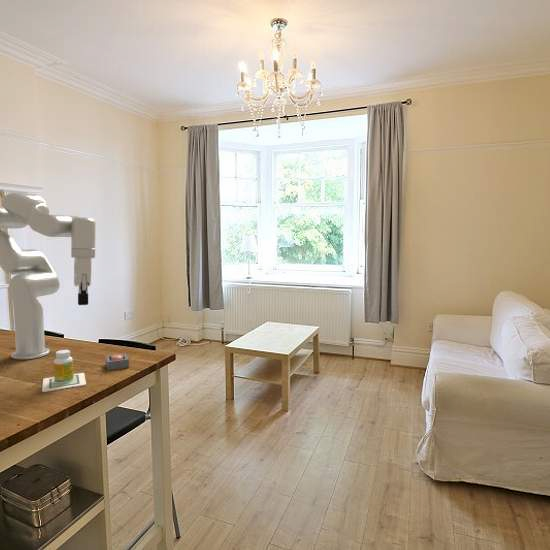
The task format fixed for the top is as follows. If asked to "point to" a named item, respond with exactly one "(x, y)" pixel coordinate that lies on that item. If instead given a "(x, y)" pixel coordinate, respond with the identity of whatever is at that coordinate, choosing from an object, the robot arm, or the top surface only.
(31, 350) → the robot arm
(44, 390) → the cream and green mat
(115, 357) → the button
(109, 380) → the top surface
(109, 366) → the button base
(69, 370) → the supplement bottle
